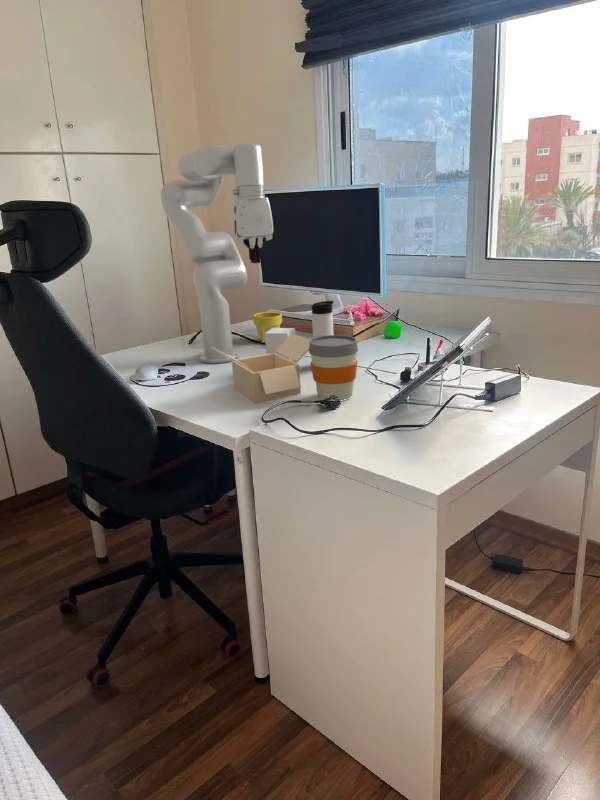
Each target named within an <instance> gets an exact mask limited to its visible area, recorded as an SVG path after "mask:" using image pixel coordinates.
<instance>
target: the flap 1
mask: <svg viewBox="0 0 600 800" xmlns="http://www.w3.org/2000/svg"><path fill="white" fill-rule="evenodd" d="M211 348H212V349H214V350H216V351H217V352H219V353H221V354H222V355H224V356H226V357H227V358H229V359H231V360H233V361H235V362H237V363H238V364H240V365H242V366H244V367H246V368H248V369H250V370H252V369H251V368H249V367H248V366H246V365H244V364H242V363H241V362H239V361H237V360H236V359H234V358H232V357H230V356H228V355H227V354H225V353H223V352H221V351H219V350H217V349H216V348H214V347H211Z"/></svg>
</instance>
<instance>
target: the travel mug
mask: <svg viewBox="0 0 600 800" xmlns="http://www.w3.org/2000/svg"><path fill="white" fill-rule="evenodd" d="M333 304H334V300H324V301H318V302H315V303H313V304H312V305H311V323H312V324H311V326H312V328H311V329H312V339H313V338H316V337H321V336H327V335H334V316H333V315H334V314H333V313H334V312H333Z"/></svg>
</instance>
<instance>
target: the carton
mask: <svg viewBox="0 0 600 800" xmlns="http://www.w3.org/2000/svg"><path fill="white" fill-rule="evenodd" d="M236 360H237V361H239V362H241V363H242V364H244V365H246V366H248V367H249V368H251V369H252V370H250V369H248V368H246V367H244V366H242V365H240V364H238V363H237V362H235V361H231V367H232V368H231V369H232V378H233V379H232V380H233V388H234V389H235V390H236V391H237V392H239V393H240V394H242V395H243V396H244V397H246V398H247V399H249V400H250V401H252V402H254V403H255V404H258V403H262V402H266V401H272V400H276V399H280V398H286V397H291V396H295V395H301V394H302V393H301V388H302V386H301V375H300V373H301V372H300V364H298V363H297V364H296V363H294V362H292V361H290V360H288V359H286V358H284V357H282V356H280V355H278V354H276V353H273V354H266V353H264V354H259V355H252V356H246V357H241V358H237V359H236ZM300 393H301V394H300Z"/></svg>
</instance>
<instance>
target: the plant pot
mask: <svg viewBox="0 0 600 800" xmlns="http://www.w3.org/2000/svg"><path fill="white" fill-rule="evenodd" d="M252 316H253V317H252V318H253V319H252V320H253V325H254V326H255V328H256V331H257V335H258V340H259V341H260V340H261V341H265V334H264V333H266V332H267V331H269V330H271V329H272V328H281V324H282V323H283V316H282V313H280V312H278V311H277V312H276V311H265V312H259V313H255V314H253V315H252Z"/></svg>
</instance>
